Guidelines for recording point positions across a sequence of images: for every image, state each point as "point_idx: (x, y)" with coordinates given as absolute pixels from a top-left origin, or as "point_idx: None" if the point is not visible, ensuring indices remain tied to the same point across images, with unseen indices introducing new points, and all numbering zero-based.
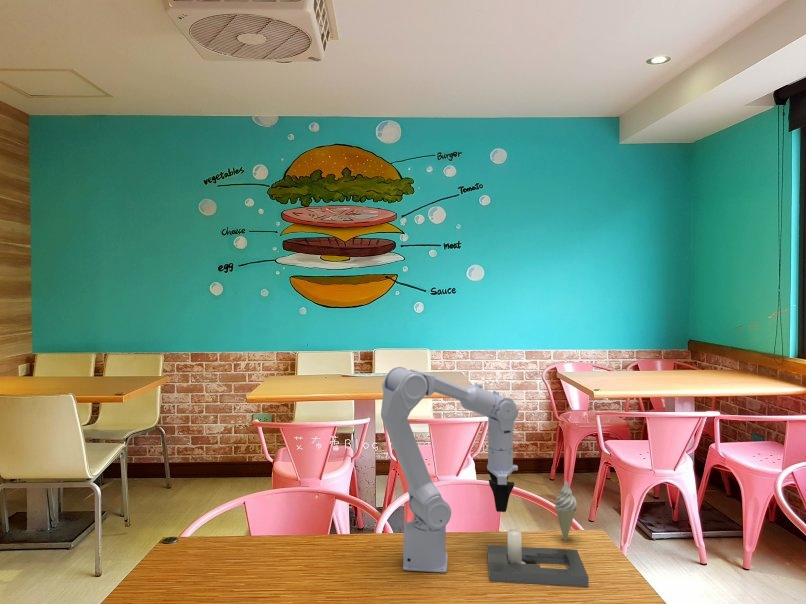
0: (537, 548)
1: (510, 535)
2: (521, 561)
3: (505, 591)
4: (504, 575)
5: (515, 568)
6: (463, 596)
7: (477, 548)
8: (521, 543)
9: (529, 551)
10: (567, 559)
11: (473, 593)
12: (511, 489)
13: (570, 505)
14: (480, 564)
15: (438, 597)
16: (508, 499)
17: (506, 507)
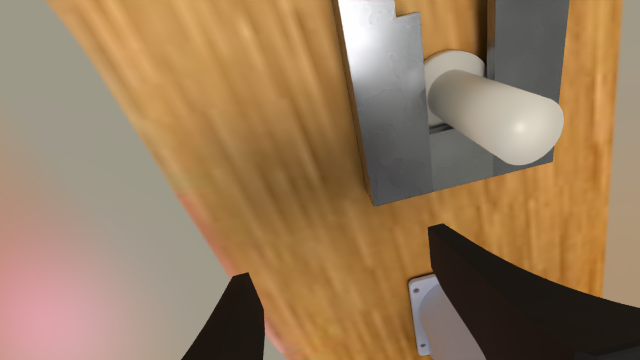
0: (349, 18)
1: (548, 144)
2: (467, 72)
3: (584, 96)
4: None
5: (531, 85)
6: (605, 192)
7: (336, 225)
8: (507, 86)
9: (388, 51)
10: None
11: (592, 174)
12: (631, 310)
13: None
14: (436, 194)
15: (606, 239)
16: (504, 261)
17: (461, 235)
